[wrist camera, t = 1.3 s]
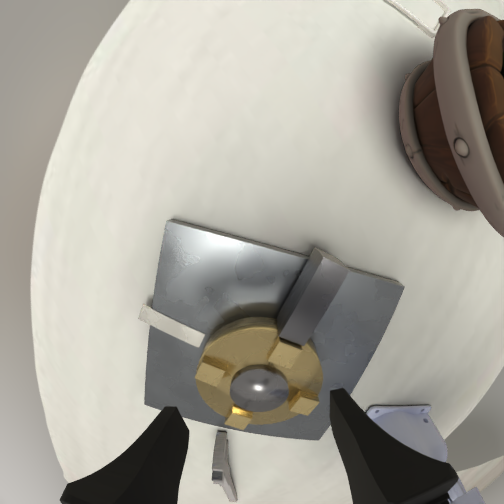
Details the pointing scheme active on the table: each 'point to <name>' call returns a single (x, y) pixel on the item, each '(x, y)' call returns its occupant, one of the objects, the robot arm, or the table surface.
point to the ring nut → (271, 354)
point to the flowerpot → (460, 115)
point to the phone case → (421, 24)
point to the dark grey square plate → (245, 306)
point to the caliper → (222, 466)
